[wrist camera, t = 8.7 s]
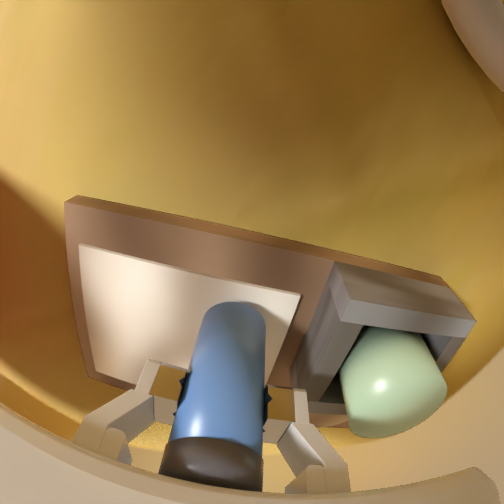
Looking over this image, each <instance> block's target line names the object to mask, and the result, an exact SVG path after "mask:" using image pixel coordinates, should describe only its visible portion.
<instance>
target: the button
mask: <svg viewBox="0 0 504 504" xmlns="http://www.w3.org/2000/svg"><path fill="white" fill-rule="evenodd" d="M338 373H339V378H340V383H341V387H342V392H343V397H344V402H345V407H346V412H347V418H348V423H349V428H350V430H351V431H352V432H353V433H354V434H355V435H357V436H360V437H364V438H382V437H388V436H392V435H396V434H399V433H401V432H404V431H406V430H409V429H411V428H413V427H415V426H416V425H418V424H420V423H421V422H423V421H424V420H426V419H427V418H428V417H430V416H431V415H432V414H433V413H434V412H435V411H436V410H437V409H438V408H439V407H440V406H441V404H442V403H443V401H444V399H445V397H446V395H447V384H446V382H445V380H444V378H443V376H442V374H441V372H440V370H439V368H438V366H437V364H436V362H435V360H434V359H433V357H432V355H431V353H430V351H429V349H428V347H427V345H426V344H425V342H424V340H423V338H422V336H421V335H420V333H418V332H410V331H403V330H396V329H389V328H382V327H375V326H368V325H367V326H365V327H363V328H362V329H361V330H360V332H359V334H358V336H357V338H356V340H355V341H354V343H353V345H352V347H351V349H350V350H349V352H348V354H347V356H346V358H345V359H344V361H343V363H342V364H341V366H340V368H339V369H338Z"/></svg>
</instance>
